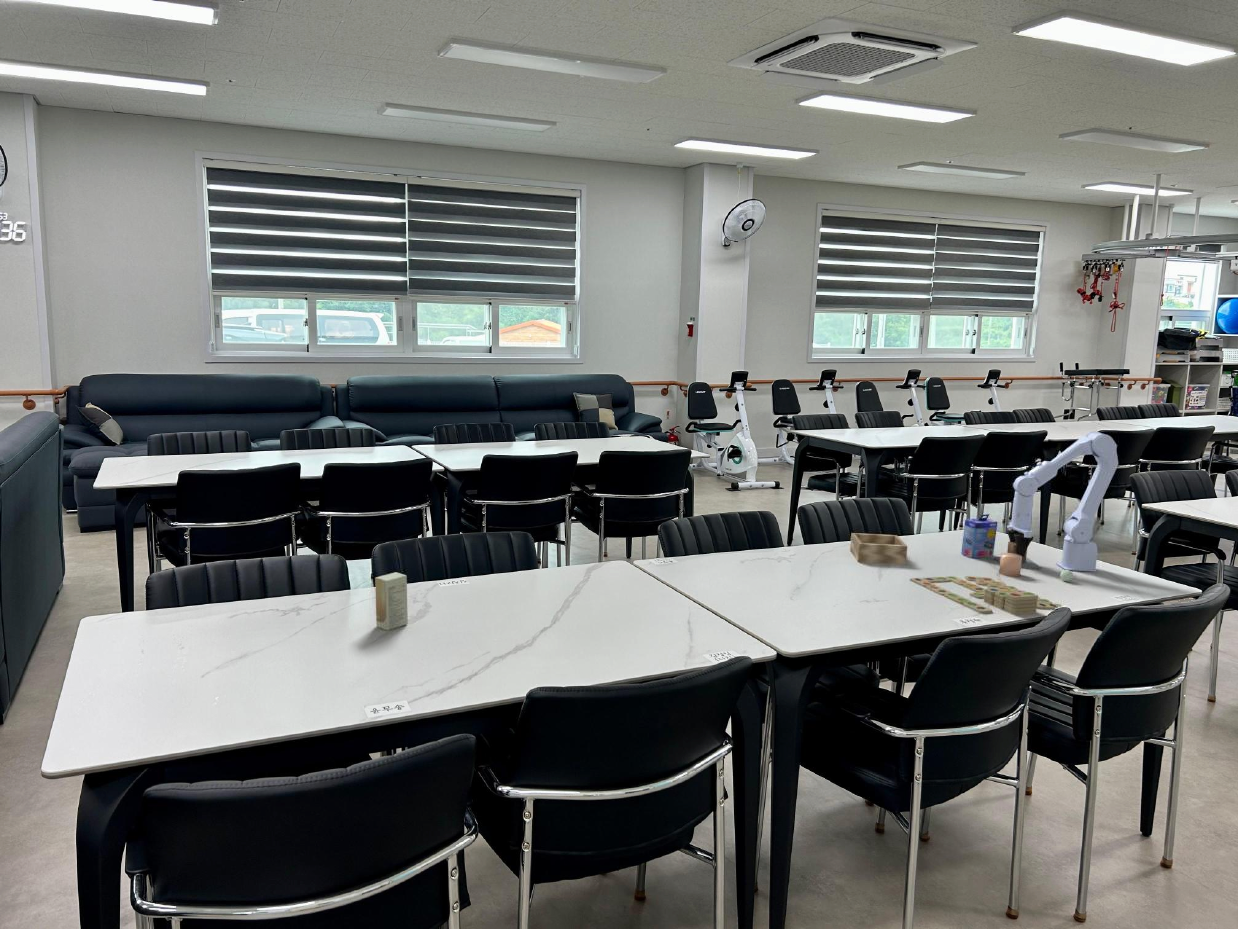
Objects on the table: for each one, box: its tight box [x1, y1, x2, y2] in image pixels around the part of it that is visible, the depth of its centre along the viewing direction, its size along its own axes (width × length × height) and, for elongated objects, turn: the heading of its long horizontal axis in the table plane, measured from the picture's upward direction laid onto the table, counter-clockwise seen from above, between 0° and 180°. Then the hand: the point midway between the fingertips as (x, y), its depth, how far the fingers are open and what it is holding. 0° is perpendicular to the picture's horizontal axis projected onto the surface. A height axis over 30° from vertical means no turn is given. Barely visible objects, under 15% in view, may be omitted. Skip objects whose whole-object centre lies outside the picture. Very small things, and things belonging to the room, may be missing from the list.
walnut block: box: [1006, 541, 1028, 562], centre depth 286 cm, size 4×4×6 cm
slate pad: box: [993, 555, 1042, 570], centre depth 287 cm, size 11×11×1 cm
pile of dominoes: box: [909, 575, 1063, 616], centre depth 250 cm, size 35×27×6 cm
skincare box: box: [374, 572, 409, 631], centre depth 208 cm, size 6×4×12 cm
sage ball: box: [1059, 569, 1074, 583], centre depth 267 cm, size 4×4×4 cm
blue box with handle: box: [960, 513, 998, 559], centre depth 294 cm, size 10×6×14 cm, turn 114°
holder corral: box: [849, 532, 908, 566], centre depth 288 cm, size 15×15×6 cm
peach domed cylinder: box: [998, 552, 1022, 578], centre depth 273 cm, size 6×6×6 cm
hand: (1017, 554), depth 286 cm, fingers closed on walnut block, 4 cm apart
